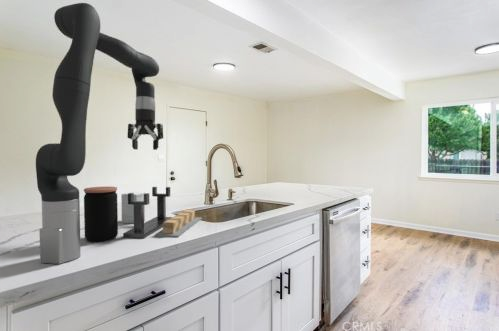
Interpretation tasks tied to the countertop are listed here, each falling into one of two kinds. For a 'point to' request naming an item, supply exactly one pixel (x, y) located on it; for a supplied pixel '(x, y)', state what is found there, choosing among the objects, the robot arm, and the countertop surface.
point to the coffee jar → (100, 214)
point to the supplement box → (130, 207)
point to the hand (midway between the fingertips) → (145, 149)
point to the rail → (178, 221)
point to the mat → (179, 229)
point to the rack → (139, 226)
